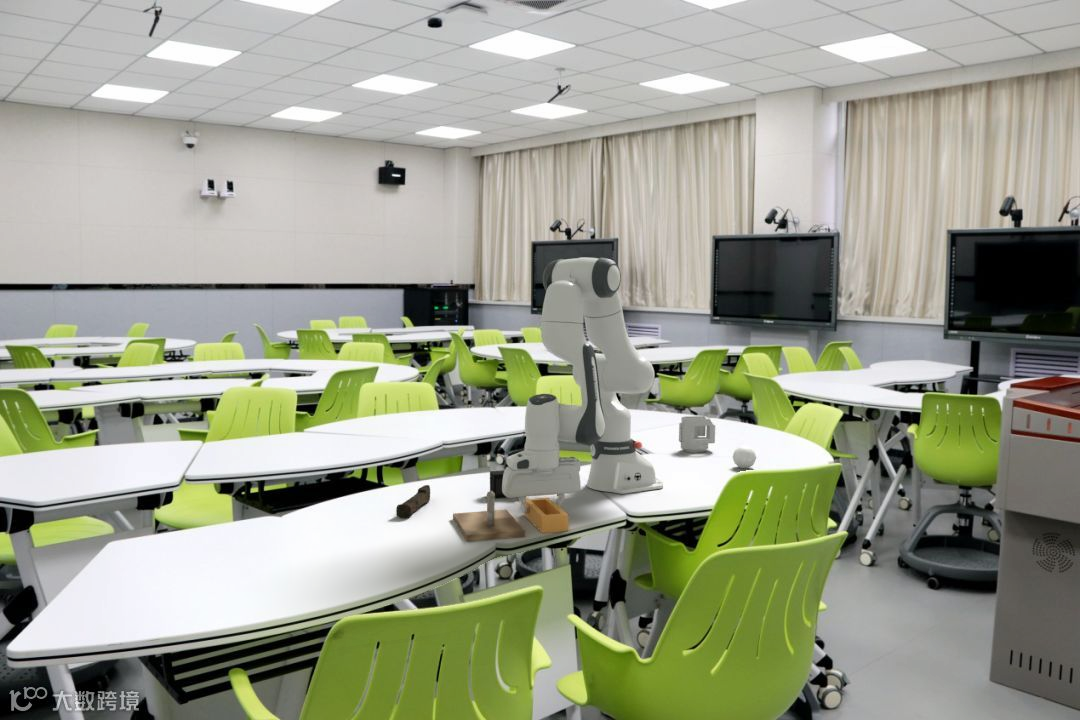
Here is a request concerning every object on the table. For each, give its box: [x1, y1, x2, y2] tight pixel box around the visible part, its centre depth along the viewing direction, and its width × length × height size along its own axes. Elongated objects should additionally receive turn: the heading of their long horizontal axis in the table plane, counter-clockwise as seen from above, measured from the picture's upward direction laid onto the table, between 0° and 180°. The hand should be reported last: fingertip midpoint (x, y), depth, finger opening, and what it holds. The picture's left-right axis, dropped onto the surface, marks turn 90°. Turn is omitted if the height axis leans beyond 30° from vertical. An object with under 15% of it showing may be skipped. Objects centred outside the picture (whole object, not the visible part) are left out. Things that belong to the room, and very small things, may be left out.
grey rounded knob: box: [732, 445, 757, 469], centre depth 267 cm, size 10×7×7 cm
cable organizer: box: [678, 415, 716, 453], centre depth 291 cm, size 7×12×12 cm, turn 98°
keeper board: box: [452, 490, 526, 543], centre depth 201 cm, size 14×18×10 cm
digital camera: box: [489, 469, 507, 499], centre depth 230 cm, size 10×5×7 cm, turn 108°
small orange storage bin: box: [524, 497, 569, 534], centre depth 206 cm, size 7×16×4 cm, turn 17°
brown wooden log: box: [395, 484, 431, 519], centre depth 218 cm, size 19×4×5 cm, turn 165°
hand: (541, 511), depth 210 cm, fingers closed on small orange storage bin, 7 cm apart
